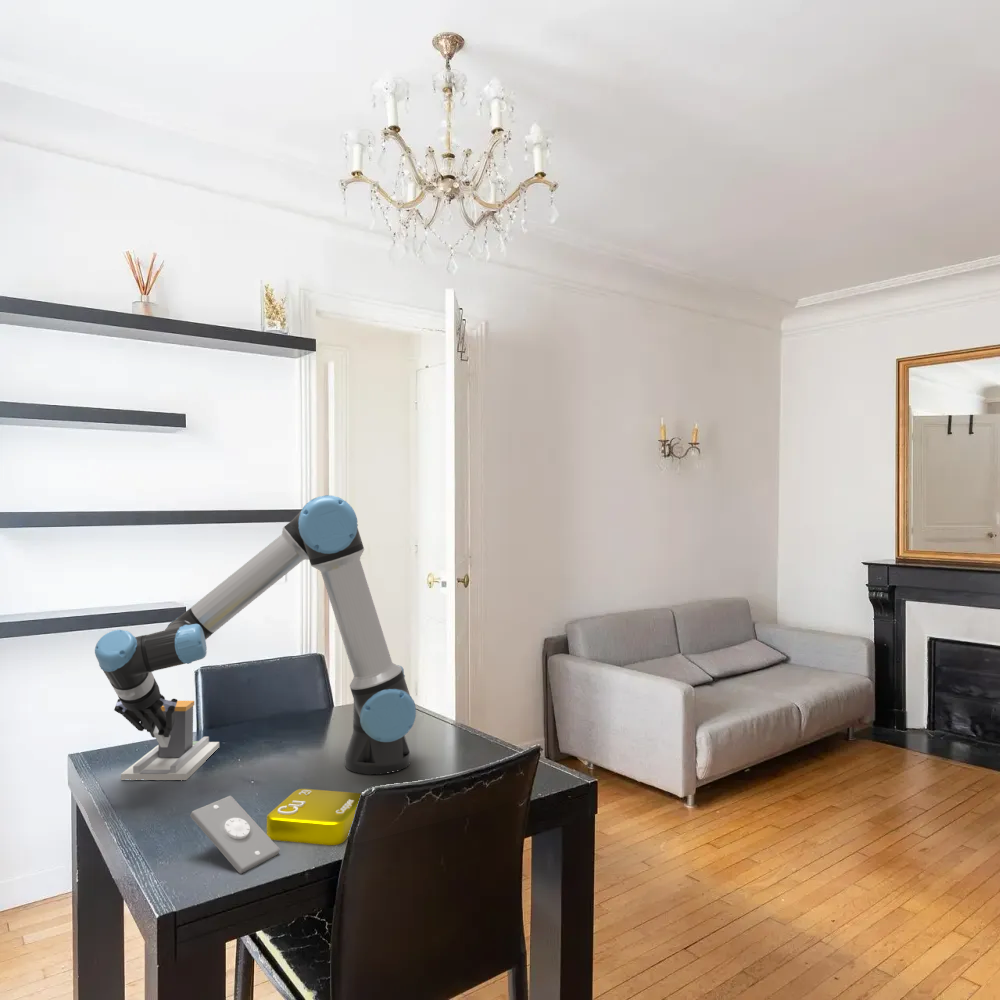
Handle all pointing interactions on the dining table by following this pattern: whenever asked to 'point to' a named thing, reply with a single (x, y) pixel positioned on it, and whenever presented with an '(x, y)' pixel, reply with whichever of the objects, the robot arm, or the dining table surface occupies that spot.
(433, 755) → the dining table surface
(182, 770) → the railed base plate
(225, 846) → the light switch
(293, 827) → the element tile
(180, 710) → the handle
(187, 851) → the dining table surface
